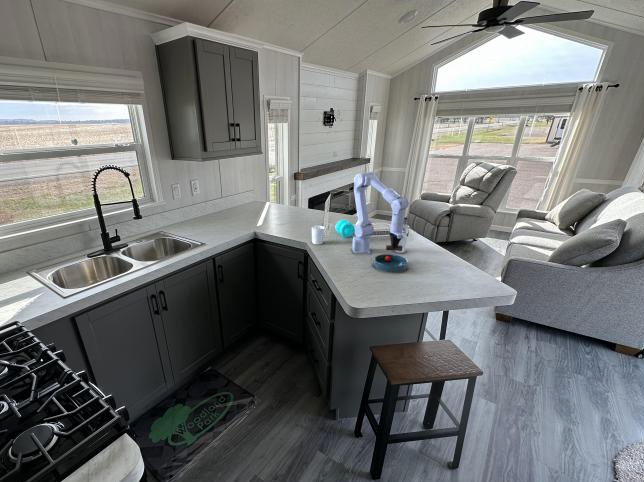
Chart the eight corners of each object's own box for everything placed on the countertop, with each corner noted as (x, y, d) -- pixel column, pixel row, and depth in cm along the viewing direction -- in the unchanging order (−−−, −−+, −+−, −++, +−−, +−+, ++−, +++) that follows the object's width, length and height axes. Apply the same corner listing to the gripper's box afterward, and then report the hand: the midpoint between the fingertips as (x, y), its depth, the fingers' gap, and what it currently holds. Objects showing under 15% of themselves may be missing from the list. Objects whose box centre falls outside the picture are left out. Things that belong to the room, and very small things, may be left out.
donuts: (340, 238, 210) (341, 223, 206) (334, 234, 219) (335, 219, 215) (354, 237, 212) (355, 222, 208) (348, 232, 221) (349, 218, 217)
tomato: (385, 261, 171) (385, 255, 172) (384, 262, 174) (383, 256, 175) (391, 261, 171) (391, 255, 171) (389, 262, 174) (389, 256, 174)
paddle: (386, 250, 171) (386, 246, 170) (385, 249, 172) (386, 245, 171) (401, 250, 170) (402, 246, 169) (401, 249, 171) (401, 245, 170)
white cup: (310, 241, 208) (310, 226, 204) (322, 240, 209) (323, 225, 205) (312, 245, 201) (313, 229, 197) (325, 244, 202) (326, 229, 198)
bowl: (377, 273, 162) (378, 266, 160) (370, 260, 176) (371, 254, 175) (410, 273, 160) (412, 266, 159) (401, 260, 175) (402, 254, 174)
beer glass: (406, 253, 184) (410, 227, 178) (393, 253, 185) (397, 227, 179) (404, 249, 190) (408, 224, 184) (392, 248, 191) (395, 224, 185)
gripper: (410, 226, 158) (406, 252, 163) (401, 218, 171) (398, 242, 177) (395, 226, 159) (391, 252, 164) (387, 218, 172) (384, 242, 177)
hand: (394, 247), depth 170 cm, fingers closed on paddle, 2 cm apart
